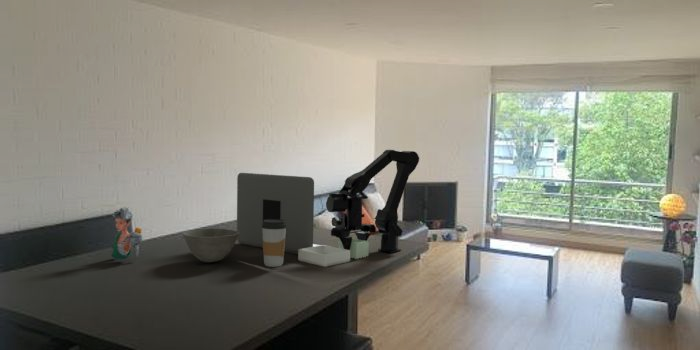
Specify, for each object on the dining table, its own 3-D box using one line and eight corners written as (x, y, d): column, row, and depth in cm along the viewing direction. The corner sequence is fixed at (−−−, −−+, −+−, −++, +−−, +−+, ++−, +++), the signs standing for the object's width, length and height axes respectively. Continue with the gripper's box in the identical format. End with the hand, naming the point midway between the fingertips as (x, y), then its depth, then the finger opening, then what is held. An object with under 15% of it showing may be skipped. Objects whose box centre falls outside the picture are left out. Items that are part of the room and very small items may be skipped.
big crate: (323, 255, 198) (323, 244, 198) (350, 261, 189) (350, 250, 189) (298, 260, 189) (298, 249, 189) (325, 266, 180) (325, 255, 180)
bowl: (249, 261, 186) (250, 232, 186) (201, 269, 173) (202, 238, 172) (219, 253, 199) (219, 226, 198) (172, 260, 185) (172, 231, 185)
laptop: (355, 246, 218) (356, 174, 216) (310, 258, 194) (312, 177, 192) (283, 236, 239) (284, 170, 237) (235, 245, 214) (235, 172, 213)
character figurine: (99, 259, 183) (99, 207, 182) (116, 255, 191) (116, 204, 190) (128, 262, 180) (128, 209, 179) (144, 258, 188) (144, 206, 187)
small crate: (350, 253, 203) (350, 237, 203) (368, 257, 197) (368, 241, 197) (338, 256, 198) (338, 239, 198) (356, 259, 192) (356, 243, 192)
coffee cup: (281, 268, 177) (282, 222, 176) (257, 266, 178) (257, 221, 178) (289, 263, 185) (290, 219, 184) (266, 261, 187) (266, 218, 186)
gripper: (355, 207, 209) (354, 247, 210) (320, 210, 195) (319, 253, 196) (377, 210, 201) (376, 251, 202) (342, 214, 188) (341, 258, 189)
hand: (353, 253), depth 198 cm, fingers closed on small crate, 6 cm apart
